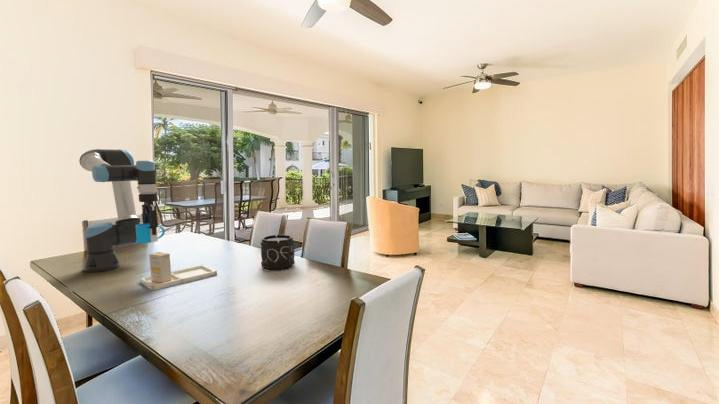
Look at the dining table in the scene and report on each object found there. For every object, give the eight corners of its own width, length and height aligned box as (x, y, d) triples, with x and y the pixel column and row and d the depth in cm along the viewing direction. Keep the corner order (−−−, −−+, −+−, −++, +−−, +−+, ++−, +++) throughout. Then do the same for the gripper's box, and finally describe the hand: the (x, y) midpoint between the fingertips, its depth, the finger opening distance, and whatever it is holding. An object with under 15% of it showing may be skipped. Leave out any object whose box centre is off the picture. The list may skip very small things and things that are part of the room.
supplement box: (172, 280, 162) (170, 253, 161) (162, 284, 158) (160, 255, 157) (160, 278, 166) (158, 251, 164) (150, 281, 162) (148, 253, 160)
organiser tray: (140, 282, 162) (139, 278, 162) (203, 268, 184) (202, 264, 183) (151, 290, 152) (151, 286, 151) (217, 274, 173) (216, 270, 173)
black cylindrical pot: (284, 273, 175) (283, 242, 173) (254, 269, 181) (253, 240, 179) (301, 263, 192) (301, 235, 190) (273, 260, 198) (272, 233, 196)
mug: (138, 244, 162) (136, 226, 161) (135, 241, 168) (134, 224, 167) (167, 240, 169) (166, 223, 168) (163, 238, 175) (162, 221, 175)
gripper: (132, 192, 171) (136, 238, 173) (145, 194, 156) (149, 244, 159) (150, 192, 176) (153, 236, 179) (163, 193, 162) (167, 242, 164)
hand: (151, 240), depth 169 cm, fingers closed on mug, 8 cm apart
